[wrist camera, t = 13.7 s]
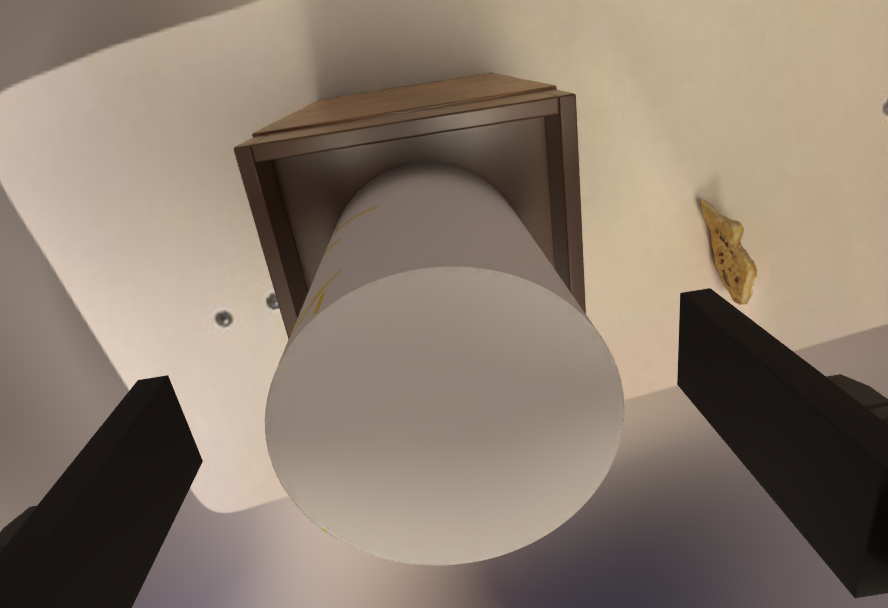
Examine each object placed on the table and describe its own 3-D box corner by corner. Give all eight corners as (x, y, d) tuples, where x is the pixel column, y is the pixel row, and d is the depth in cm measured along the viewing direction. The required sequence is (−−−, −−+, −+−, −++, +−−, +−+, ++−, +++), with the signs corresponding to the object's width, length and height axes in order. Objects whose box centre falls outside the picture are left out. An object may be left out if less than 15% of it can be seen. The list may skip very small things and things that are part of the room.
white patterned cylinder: (322, 164, 22) (238, 272, 11) (529, 160, 22) (647, 261, 11) (339, 348, 25) (288, 574, 14) (519, 342, 26) (604, 556, 15)
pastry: (735, 285, 46) (771, 311, 41) (717, 293, 46) (751, 319, 42) (707, 189, 43) (743, 205, 38) (688, 198, 43) (721, 215, 38)
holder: (324, 390, 27) (314, 430, 24) (254, 136, 22) (232, 147, 19) (570, 351, 27) (589, 387, 24) (554, 88, 22) (576, 93, 19)
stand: (354, 264, 43) (322, 392, 27) (317, 100, 38) (251, 133, 22) (509, 240, 43) (572, 353, 27) (492, 72, 38) (556, 85, 22)
